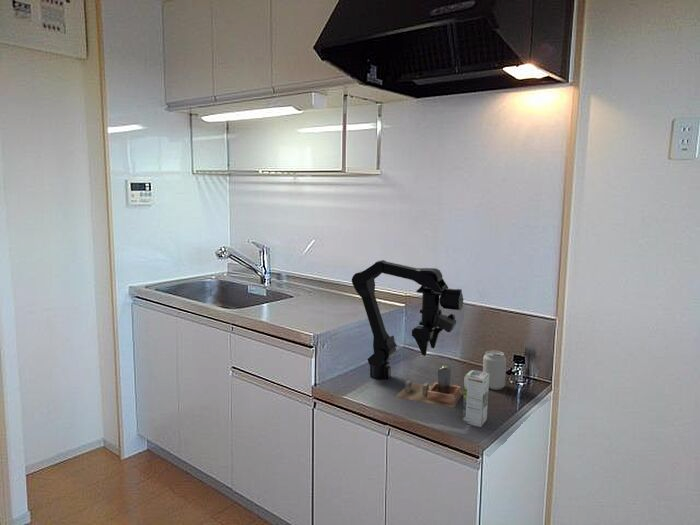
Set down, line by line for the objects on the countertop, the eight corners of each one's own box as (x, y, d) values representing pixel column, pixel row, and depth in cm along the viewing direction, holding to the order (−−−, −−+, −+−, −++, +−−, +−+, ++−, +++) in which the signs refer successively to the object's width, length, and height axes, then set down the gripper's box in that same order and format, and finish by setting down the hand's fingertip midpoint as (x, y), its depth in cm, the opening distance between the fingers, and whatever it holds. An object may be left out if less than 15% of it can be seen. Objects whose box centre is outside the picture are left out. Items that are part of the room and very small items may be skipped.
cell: (436, 396, 166) (436, 367, 164) (439, 392, 169) (440, 363, 168) (448, 398, 164) (449, 369, 162) (451, 393, 167) (452, 365, 166)
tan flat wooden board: (395, 399, 166) (395, 387, 166) (409, 385, 179) (409, 373, 178) (453, 410, 158) (454, 397, 158) (464, 394, 171) (464, 382, 170)
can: (493, 392, 172) (494, 357, 171) (477, 384, 179) (478, 351, 177) (509, 388, 176) (511, 354, 174) (494, 381, 182) (495, 348, 181)
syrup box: (468, 415, 155) (469, 369, 153) (487, 420, 152) (489, 372, 150) (461, 423, 150) (463, 375, 148) (482, 428, 147) (484, 378, 145)
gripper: (445, 315, 161) (443, 364, 163) (461, 304, 177) (459, 348, 180) (412, 311, 166) (410, 358, 168) (430, 300, 182) (428, 343, 185)
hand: (428, 351), depth 175 cm, fingers open, 9 cm apart
